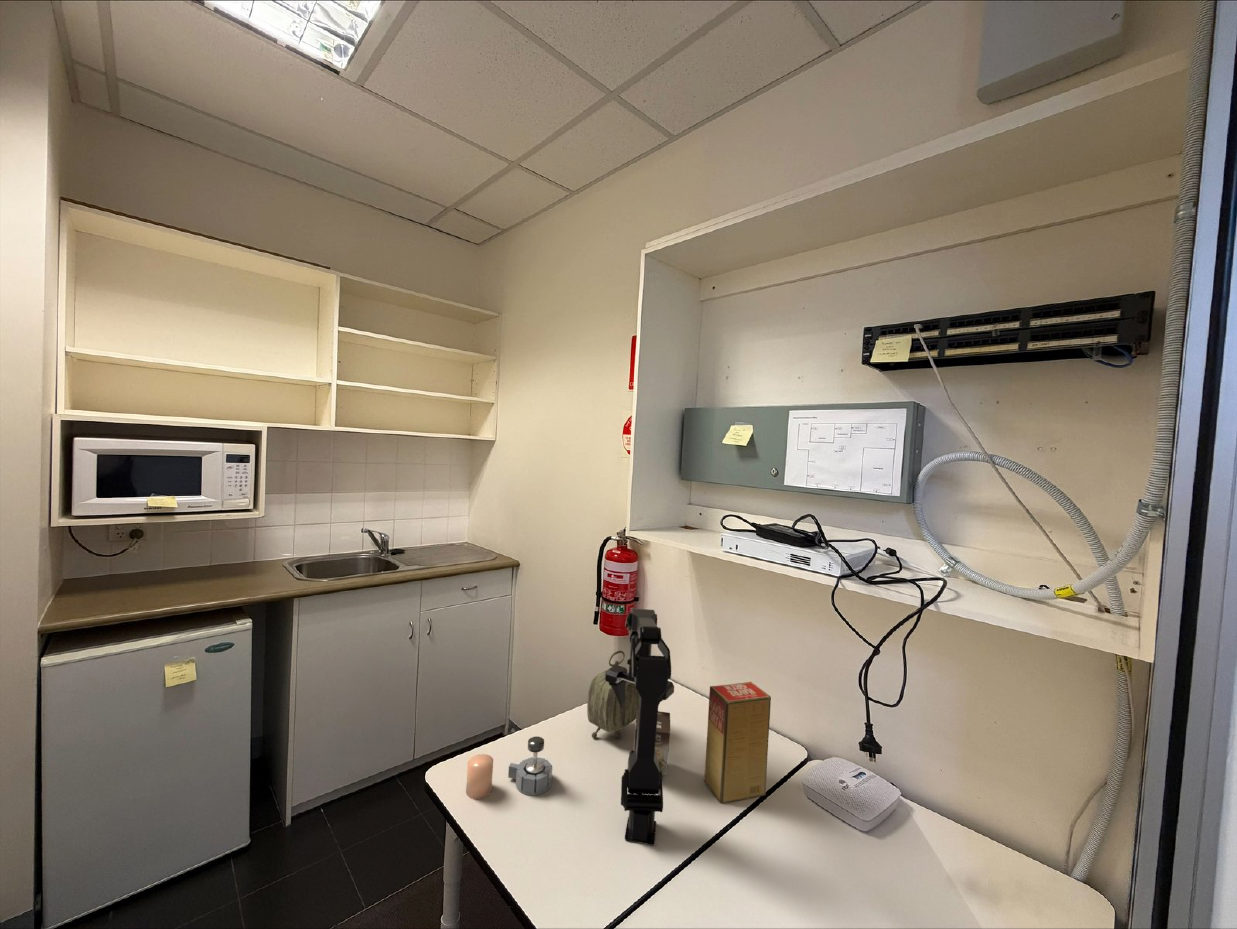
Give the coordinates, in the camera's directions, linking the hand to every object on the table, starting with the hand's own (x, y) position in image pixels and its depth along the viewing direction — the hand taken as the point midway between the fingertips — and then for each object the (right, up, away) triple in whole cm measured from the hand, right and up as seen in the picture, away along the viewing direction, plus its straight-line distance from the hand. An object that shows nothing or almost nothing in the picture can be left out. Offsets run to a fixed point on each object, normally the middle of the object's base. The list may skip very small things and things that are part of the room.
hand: (637, 712), depth 130 cm
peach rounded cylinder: (-39, -12, -14) cm, 43 cm away
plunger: (-26, -9, -10) cm, 29 cm away
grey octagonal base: (-27, -12, -10) cm, 32 cm away
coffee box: (+3, -13, -1) cm, 14 cm away
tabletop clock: (-7, -13, +13) cm, 20 cm away
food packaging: (+25, -16, -7) cm, 30 cm away
